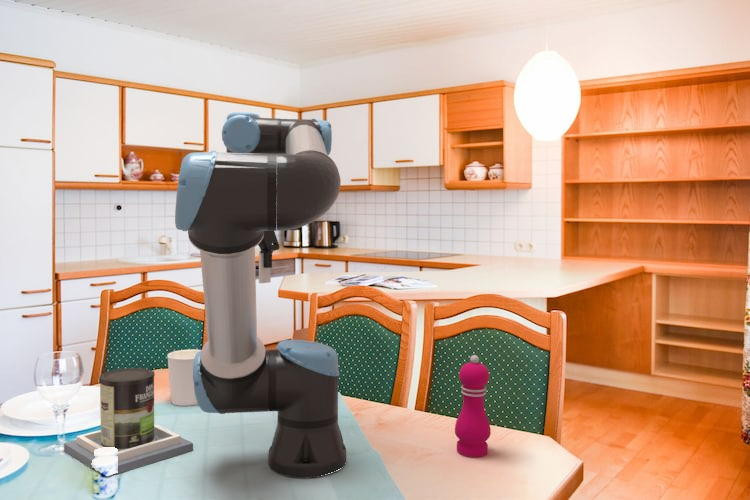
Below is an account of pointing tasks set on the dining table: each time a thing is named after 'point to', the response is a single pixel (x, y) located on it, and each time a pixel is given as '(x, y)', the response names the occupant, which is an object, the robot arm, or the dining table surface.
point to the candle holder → (182, 377)
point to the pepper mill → (473, 410)
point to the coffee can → (127, 408)
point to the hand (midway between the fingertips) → (243, 280)
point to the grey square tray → (131, 449)
